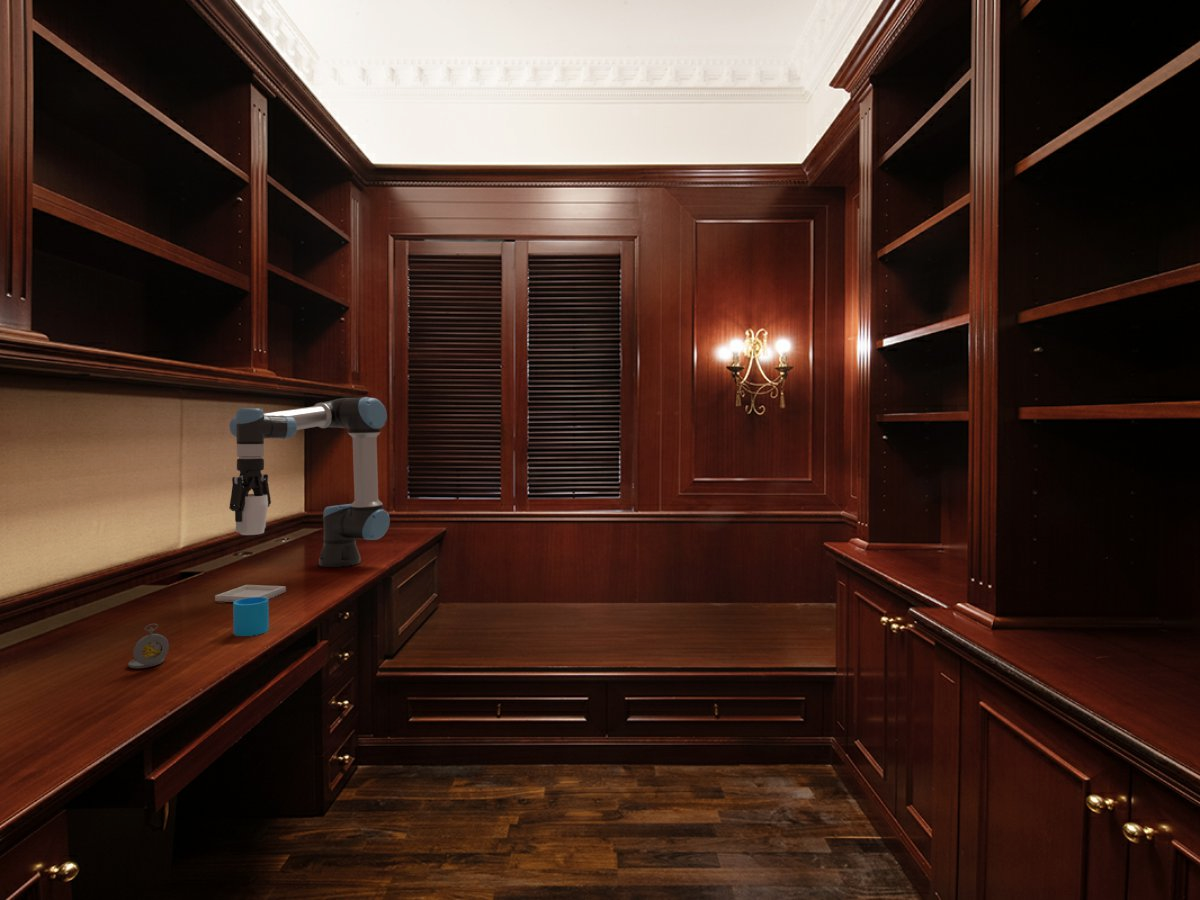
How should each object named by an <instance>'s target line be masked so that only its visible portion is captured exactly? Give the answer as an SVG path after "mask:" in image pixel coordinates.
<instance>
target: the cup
mask: <svg viewBox="0 0 1200 900" xmlns="http://www.w3.org/2000/svg"><path fill="white" fill-rule="evenodd" d="M268 508H269V507H268V498H267V494H263V496H255V495H254V493H248V496H247V497H245V506H244V509H243V511H245V518H246V532H244V533H242V532H239V534H240V535H241V536H256V535H262V534H264V533H265V529H266V528H265V522H266V523H267V515H268Z"/></svg>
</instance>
